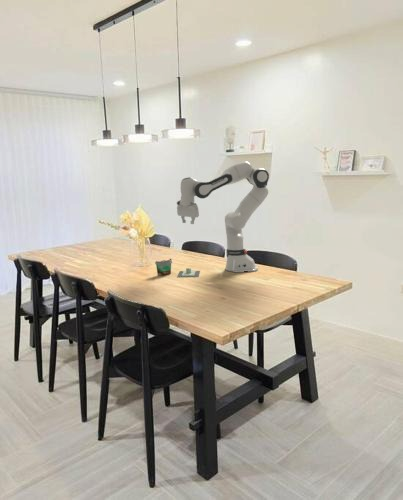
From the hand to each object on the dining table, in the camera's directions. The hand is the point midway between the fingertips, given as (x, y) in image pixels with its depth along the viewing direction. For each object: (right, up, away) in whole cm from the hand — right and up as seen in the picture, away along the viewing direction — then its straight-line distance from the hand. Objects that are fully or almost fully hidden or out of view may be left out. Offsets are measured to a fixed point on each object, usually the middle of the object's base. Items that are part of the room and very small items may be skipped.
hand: (188, 223), depth 263 cm
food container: (-15, -35, -1) cm, 37 cm away
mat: (0, -34, -1) cm, 34 cm away
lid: (0, -34, -2) cm, 34 cm away
